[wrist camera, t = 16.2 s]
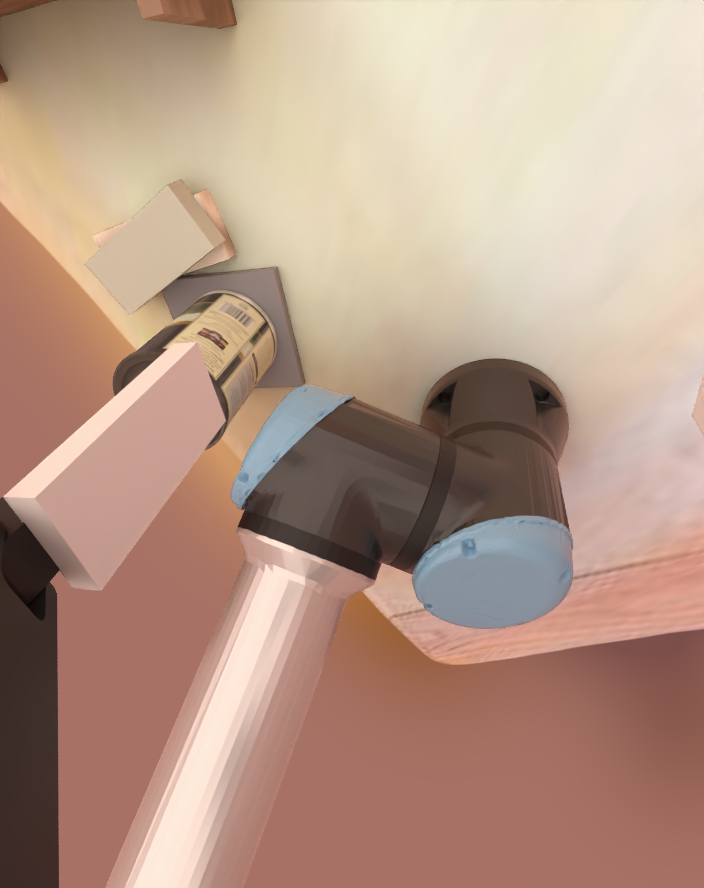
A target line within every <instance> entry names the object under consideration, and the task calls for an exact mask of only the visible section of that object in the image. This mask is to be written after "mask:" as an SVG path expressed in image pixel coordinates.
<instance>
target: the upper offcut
mask: <svg viewBox="0 0 704 888" xmlns="http://www.w3.org/2000/svg"><path fill="white" fill-rule="evenodd" d="M224 241H225V238H224V237H223V236H222V234H221V233H220V231H219V230H218V229H217V227H216V226H215V225H214V223H213V222H212V221H211V219H210V218H209V217H208V215H207V214H206V213H205V211H204V210H203V208H202V207H201V206H200V204H199V203H198V202H197V200H196V199H195V198H194V196H193V195H192V193H191V192H190V190H189V189H188V188H187V186H186V185H185V184H184V182H183V181H182V180H179V181H176V182H173V183H171V184H168V185H166V186H165V187H164V188H163V189H162V190H161V191H160V192H159V193H158V194H157V195H156V196H155V197H154V198H153V199H152V200H151V201H150V202H149V203H148V204H147V205H146V206H144V207H143V208H142V209H141V210H140V211H139V212H138V213H137V214H136V215H135V216H134V217H133V218H132V219H131V220H130V221H129V222H128V223H127V224H126V225H125V226H124V227H123V228H121V229H120V230H119V231H118V232H117V233H116V234H115V235H114V236H113V237H112V238H111V239H110V240H109V241H108V242H107V243H106V244H105V245H104V246H103V247H102V248H101V249H100V250H98V251H97V252H96V253H95V254H94V255H93V256H92V257H91V258H90V259H89V260H88V261H87V262H86V263H85V266H86V267H87V268H88V269H89V270H90V271H91V272H92V274H93V275H94V276H95V277H96V278H97V279H98V280H99V281H100V283H101V284H102V285H103V286H104V287H105V288H106V289H107V291H108V292H109V293H110V294H111V295H112V296H113V297H114V298H115V300H116V301H117V302H118V303H119V304H120V305H121V306H122V308H123V309H124V310H125V311H126V312H127V313H128V314H129V315H131V314H132V313H134V312H135V311H136V310H138V309H139V308H141V307H142V306H144V305H145V304H146V303H147V302H149V301H150V300H151V299H152V298H154V297H155V296H156V295H157V294H159V293H160V292H161V291H162V290H164V289H165V288H166V287H167V286H169V285H170V284H171V283H173V282H174V281H175V280H176V279H178V278H179V277H180V276H181V275H183V274H184V273H185V272H186V271H188V270H189V269H190V268H191V267H193V266H194V265H195V264H196V263H198V262H199V261H200V260H201V259H203V258H204V257H205V256H206V255H208V254H209V253H210V252H212V251H213V250H214V249H215V248H217V247H218V246H219V245H220V244H222V243H223V242H224Z"/></svg>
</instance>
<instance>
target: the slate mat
mask: <svg viewBox="0 0 704 888" xmlns="http://www.w3.org/2000/svg"><path fill="white" fill-rule="evenodd" d="M216 290H229V291H232V292H236V293H239V294H242V295H244V296H246V297H248V298H249V299H251V300H252V301H254V302H255V303H256V304H257V305H258V306H259V307H261V308H262V309H263V310H264V312H265V313H266V314H267V316H268V317H269V319H270V320H271V322H272V324H273V326H274V329H275V332H276V336H277V341H278V345H277V353H276V357H275V359H274V361H273V363H272V365H271V366H270V367H269V368H268V369H267V370H266V372H265V373H264V375H263V376H262V377H261V379H260V380H259V382H258V383H257V385H256V386H255V387H254V388H266V387H300V386H302V385H304V383H305V380H304V376H303V372H302V368H301V363H300V359H299V355H298V351H297V347H296V343H295V339H294V334H293V330H292V326H291V322H290V318H289V314H288V310H287V306H286V301H285V297H284V293H283V289H282V285H281V281H280V277H279V272H278V268H277V267H271V268H261V269H251V270H241V271H231V272H221V273H211V274H201V275H191V276H181V277H179V278H178V279H176V280H175V281H174V282H173V283H171V284H170V285H169V286H167V287H166V288H165V289H164V290H162V291H163V294H164V297H165V299H166V302H167V304H168V307H169V310H170V312H171V315H172V317H173V320H175V319H176V318H177V317H178V316H179V315H180V314H182V313H183V312H184V311H185V310H186V309H188V308H189V307H190V306H191V305H192V304H193V303H194V302H195V301H196V300H197V299H198V298H199V297H201V296H202V295H204V294H206V293H208V292H211V291H216Z"/></svg>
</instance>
